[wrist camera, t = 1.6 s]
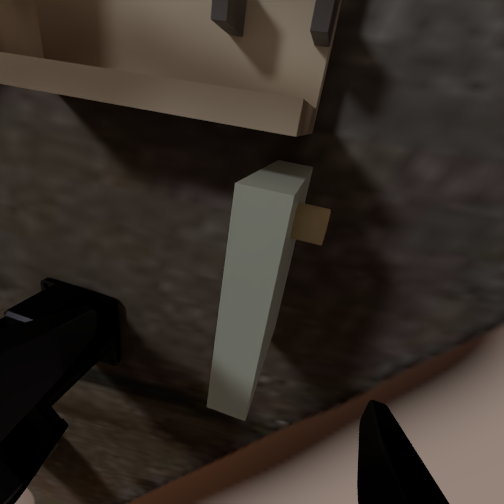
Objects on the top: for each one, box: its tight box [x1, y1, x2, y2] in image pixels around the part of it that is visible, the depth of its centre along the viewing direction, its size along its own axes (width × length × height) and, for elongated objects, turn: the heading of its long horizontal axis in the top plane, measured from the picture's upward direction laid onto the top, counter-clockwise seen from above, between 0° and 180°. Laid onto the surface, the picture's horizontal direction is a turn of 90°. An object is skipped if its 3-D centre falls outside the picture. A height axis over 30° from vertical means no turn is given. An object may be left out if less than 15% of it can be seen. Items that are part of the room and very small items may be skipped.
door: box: [207, 160, 331, 421], centre depth 14 cm, size 10×3×7 cm, turn 171°
